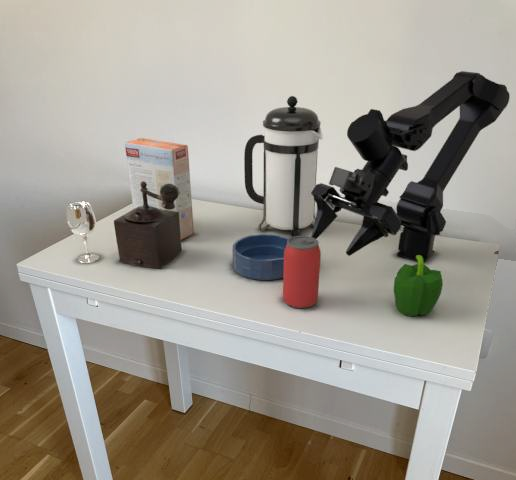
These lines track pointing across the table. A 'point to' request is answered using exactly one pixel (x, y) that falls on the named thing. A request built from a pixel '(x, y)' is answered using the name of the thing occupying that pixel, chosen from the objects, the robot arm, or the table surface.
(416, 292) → the bell pepper
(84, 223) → the wineglass
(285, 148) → the coffee press
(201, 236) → the table surface
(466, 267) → the table surface
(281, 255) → the bowl
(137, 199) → the cracker box
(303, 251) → the beer can
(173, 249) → the manual coffee grinder
